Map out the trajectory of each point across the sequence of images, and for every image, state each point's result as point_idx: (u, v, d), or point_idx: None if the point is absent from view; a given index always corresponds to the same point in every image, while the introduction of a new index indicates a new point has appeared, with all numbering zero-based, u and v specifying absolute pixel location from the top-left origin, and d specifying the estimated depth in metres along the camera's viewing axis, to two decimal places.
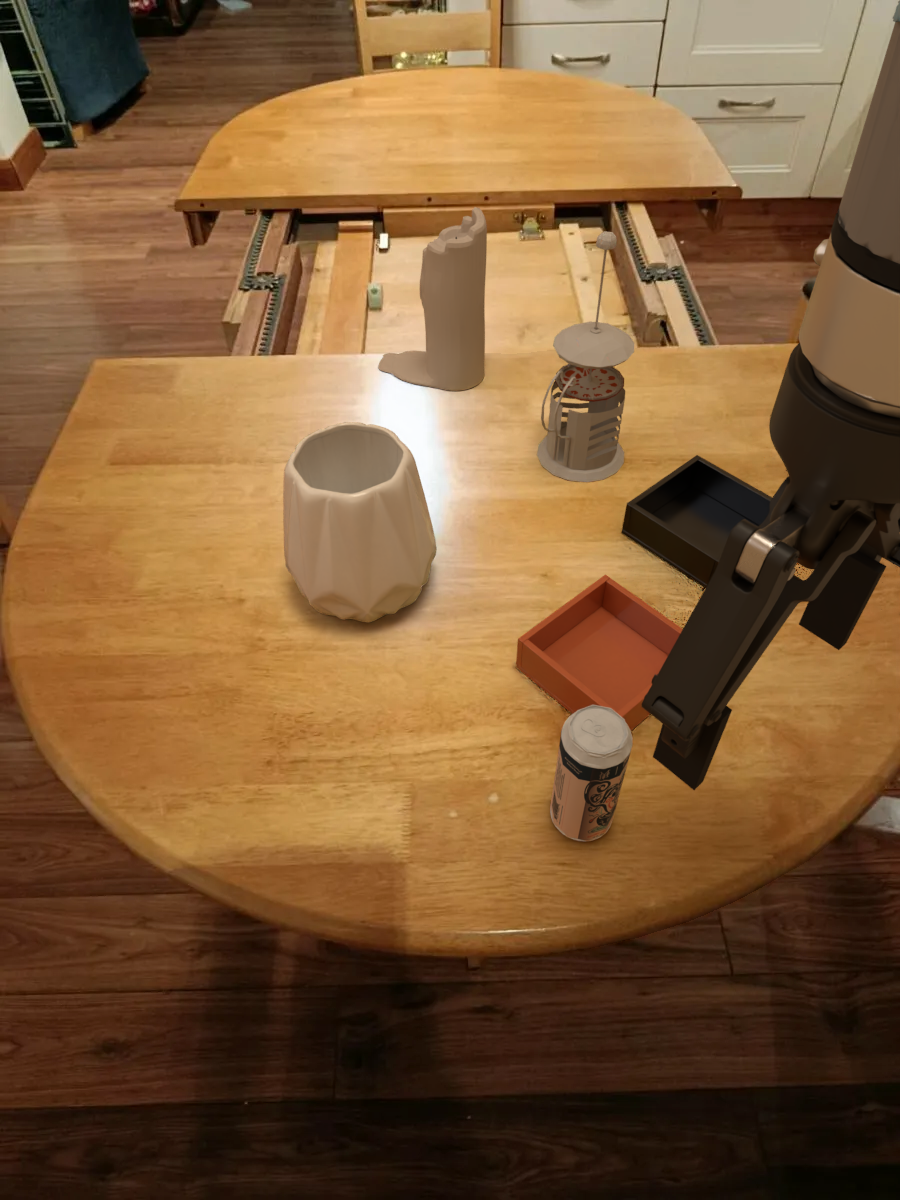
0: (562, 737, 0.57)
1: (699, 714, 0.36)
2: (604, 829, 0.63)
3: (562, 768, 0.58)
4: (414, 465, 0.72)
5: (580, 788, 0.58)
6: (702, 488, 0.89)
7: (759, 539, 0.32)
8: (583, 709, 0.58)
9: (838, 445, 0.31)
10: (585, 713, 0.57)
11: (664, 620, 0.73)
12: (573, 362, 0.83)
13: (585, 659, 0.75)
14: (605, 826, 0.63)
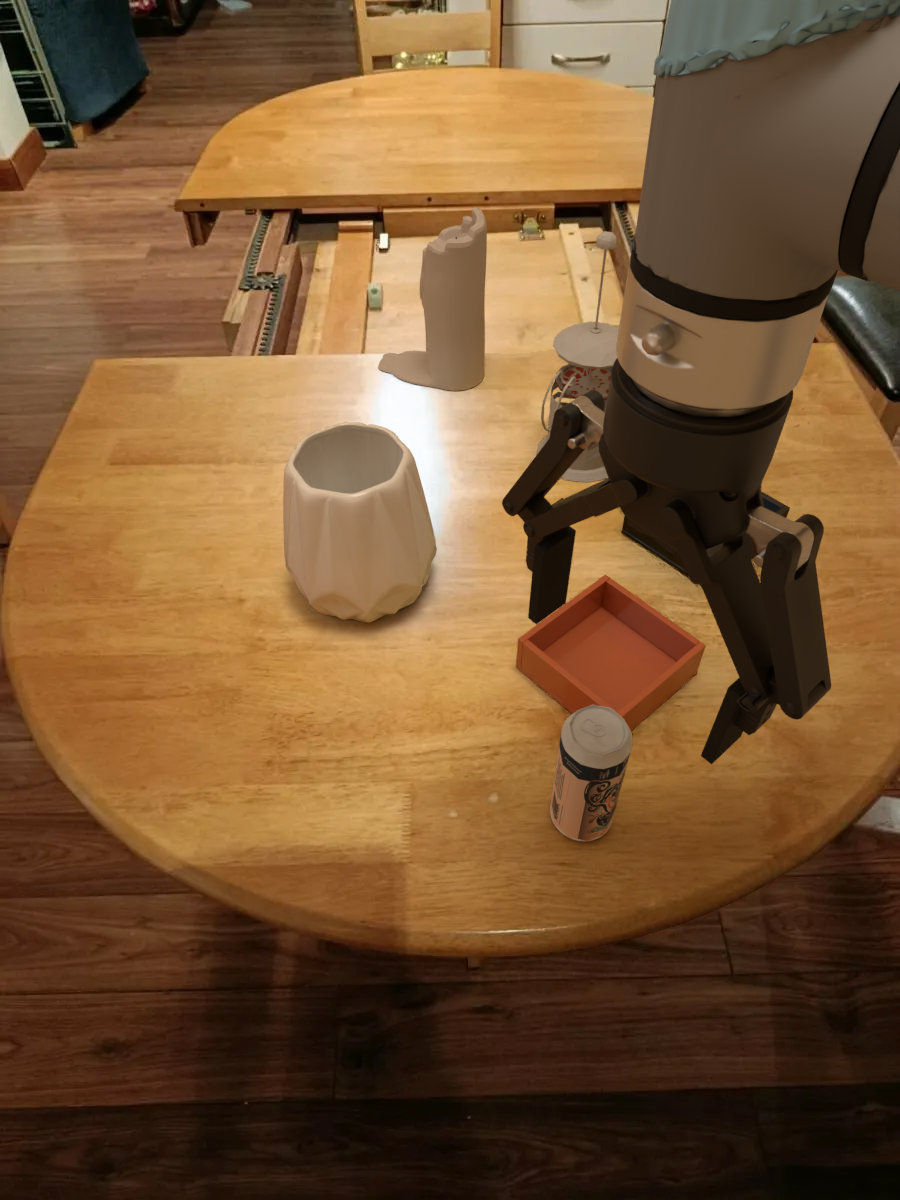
0: (562, 737, 0.57)
1: None
2: (604, 829, 0.63)
3: (562, 768, 0.58)
4: (414, 465, 0.72)
5: (580, 788, 0.58)
6: None
7: (802, 534, 0.36)
8: (583, 709, 0.58)
9: (775, 436, 0.35)
10: (585, 713, 0.57)
11: (664, 620, 0.73)
12: (573, 362, 0.83)
13: (585, 659, 0.75)
14: (605, 826, 0.63)
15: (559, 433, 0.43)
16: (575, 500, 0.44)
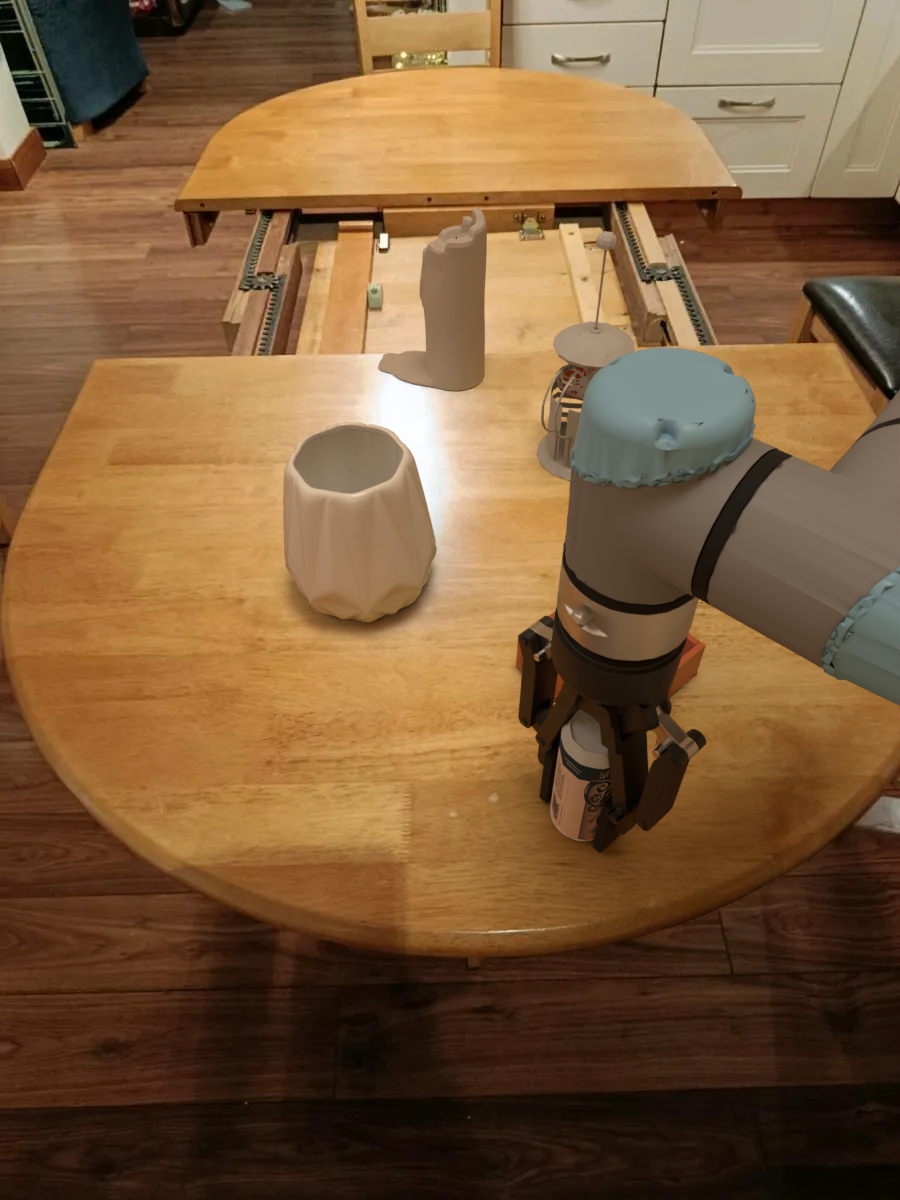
0: (562, 737, 0.57)
1: None
2: None
3: (562, 768, 0.58)
4: (414, 465, 0.72)
5: (580, 788, 0.58)
6: None
7: (691, 751, 0.49)
8: None
9: (674, 667, 0.47)
10: (585, 713, 0.57)
11: None
12: (573, 362, 0.83)
13: None
14: None
15: (526, 652, 0.56)
16: (554, 707, 0.57)
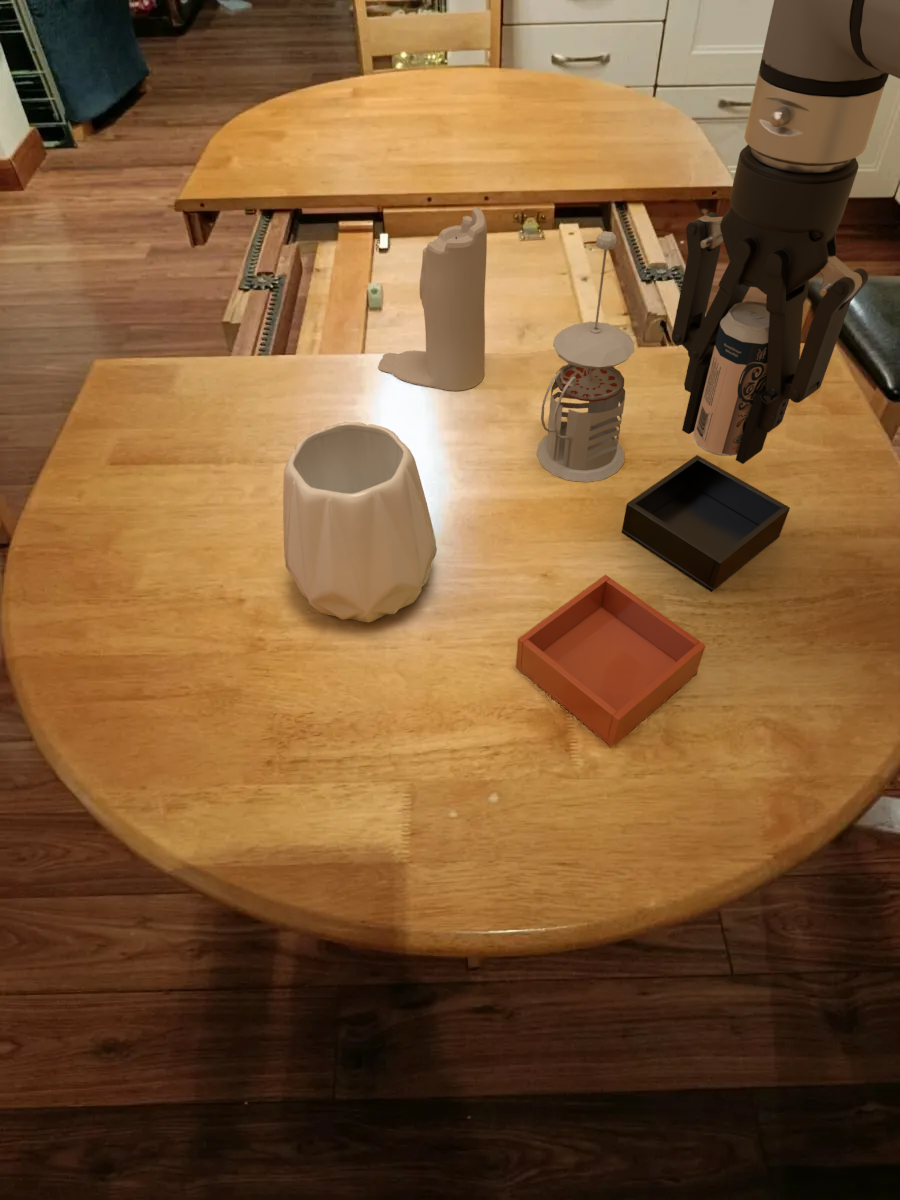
0: (722, 325, 0.64)
1: (824, 373, 0.63)
2: None
3: (719, 361, 0.66)
4: (414, 465, 0.72)
5: (735, 376, 0.65)
6: (702, 488, 0.89)
7: (856, 281, 0.57)
8: (739, 304, 0.65)
9: (847, 190, 0.55)
10: (741, 306, 0.65)
11: (664, 620, 0.73)
12: (573, 362, 0.83)
13: (585, 659, 0.75)
14: None
15: (693, 243, 0.63)
16: (715, 297, 0.64)
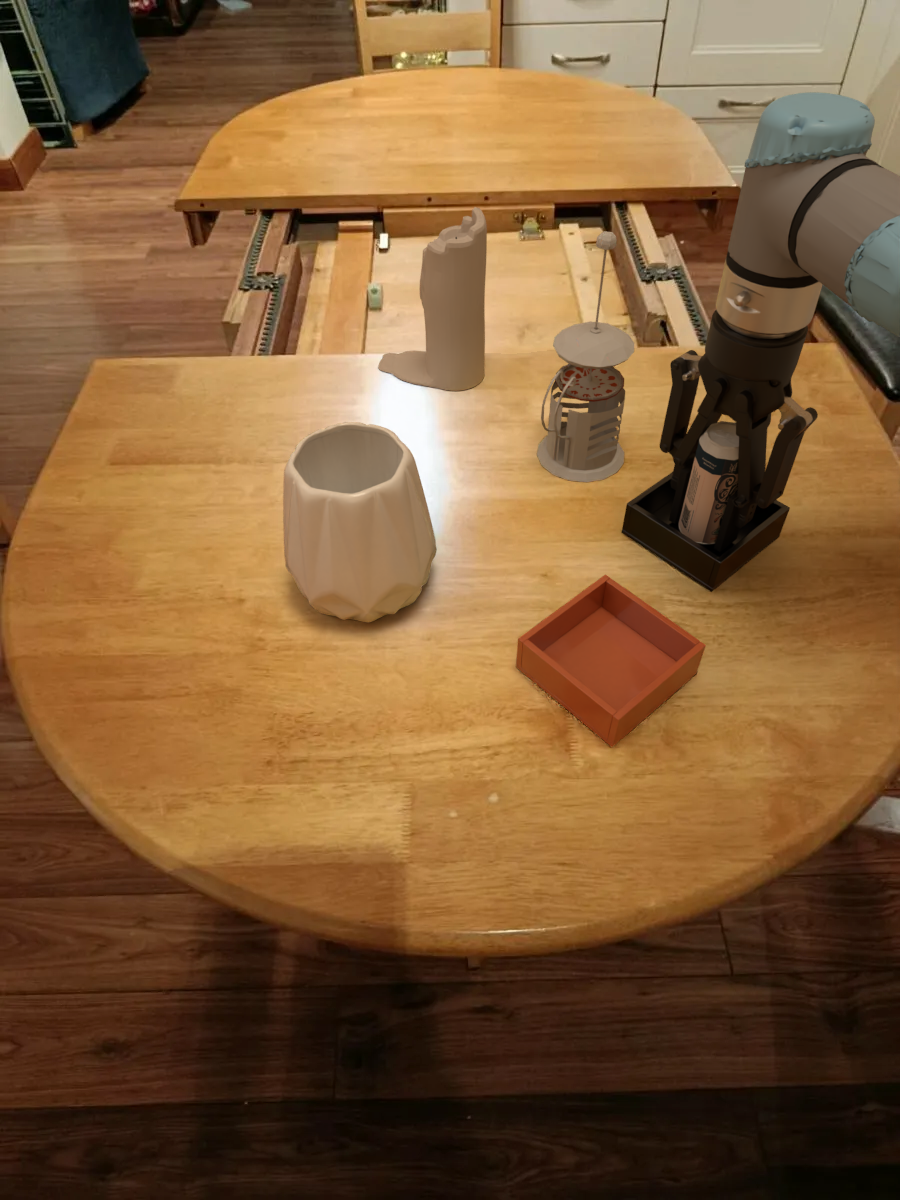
0: (700, 443, 0.77)
1: (785, 484, 0.76)
2: None
3: (698, 471, 0.78)
4: (414, 465, 0.72)
5: (712, 484, 0.78)
6: None
7: (808, 419, 0.69)
8: (715, 424, 0.78)
9: (799, 350, 0.67)
10: (717, 426, 0.77)
11: (664, 620, 0.73)
12: (573, 362, 0.83)
13: (585, 659, 0.75)
14: None
15: (676, 375, 0.76)
16: (695, 419, 0.77)
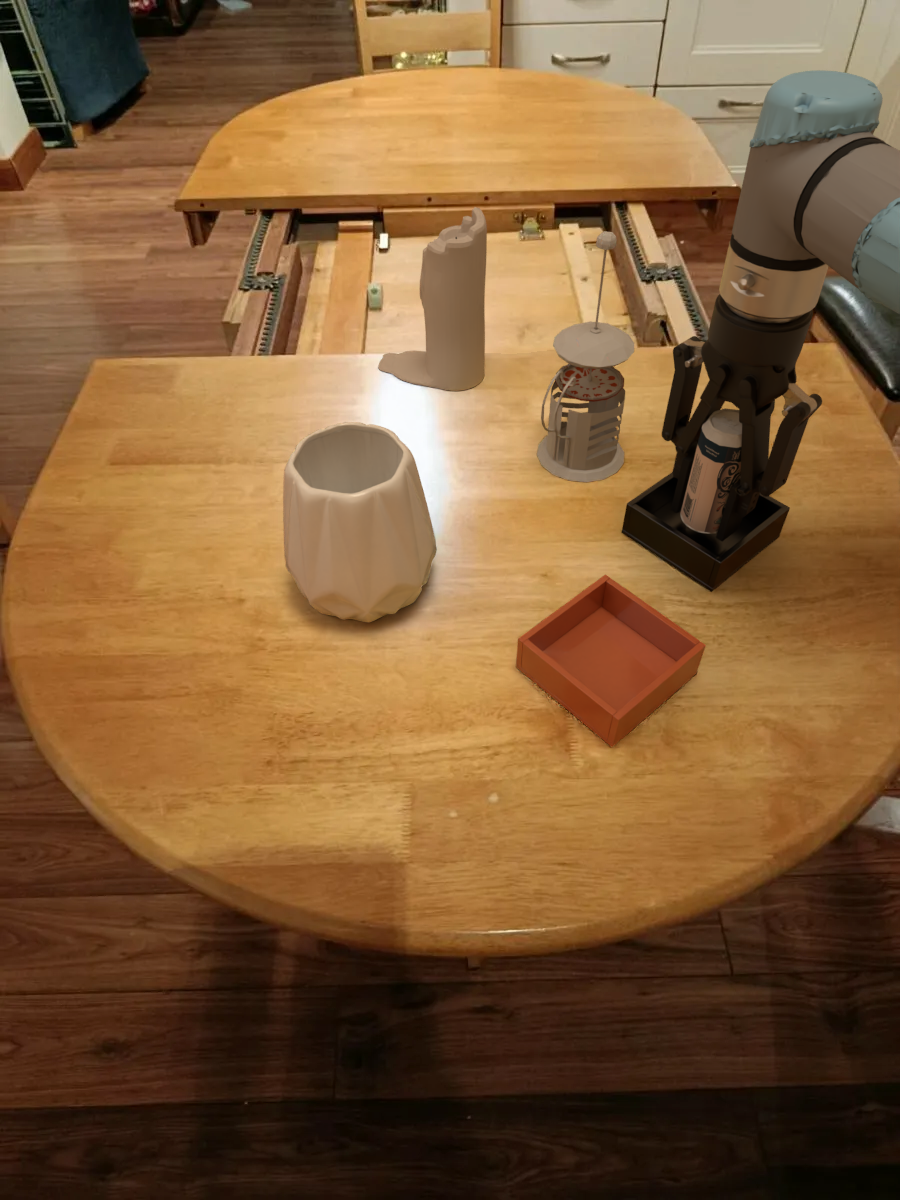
0: (703, 430, 0.76)
1: (788, 472, 0.75)
2: None
3: (701, 459, 0.77)
4: (414, 465, 0.72)
5: (715, 472, 0.77)
6: None
7: (812, 405, 0.68)
8: (718, 411, 0.77)
9: (803, 335, 0.66)
10: (720, 413, 0.76)
11: (664, 620, 0.73)
12: (573, 362, 0.83)
13: (585, 659, 0.75)
14: None
15: (679, 362, 0.75)
16: (697, 407, 0.76)
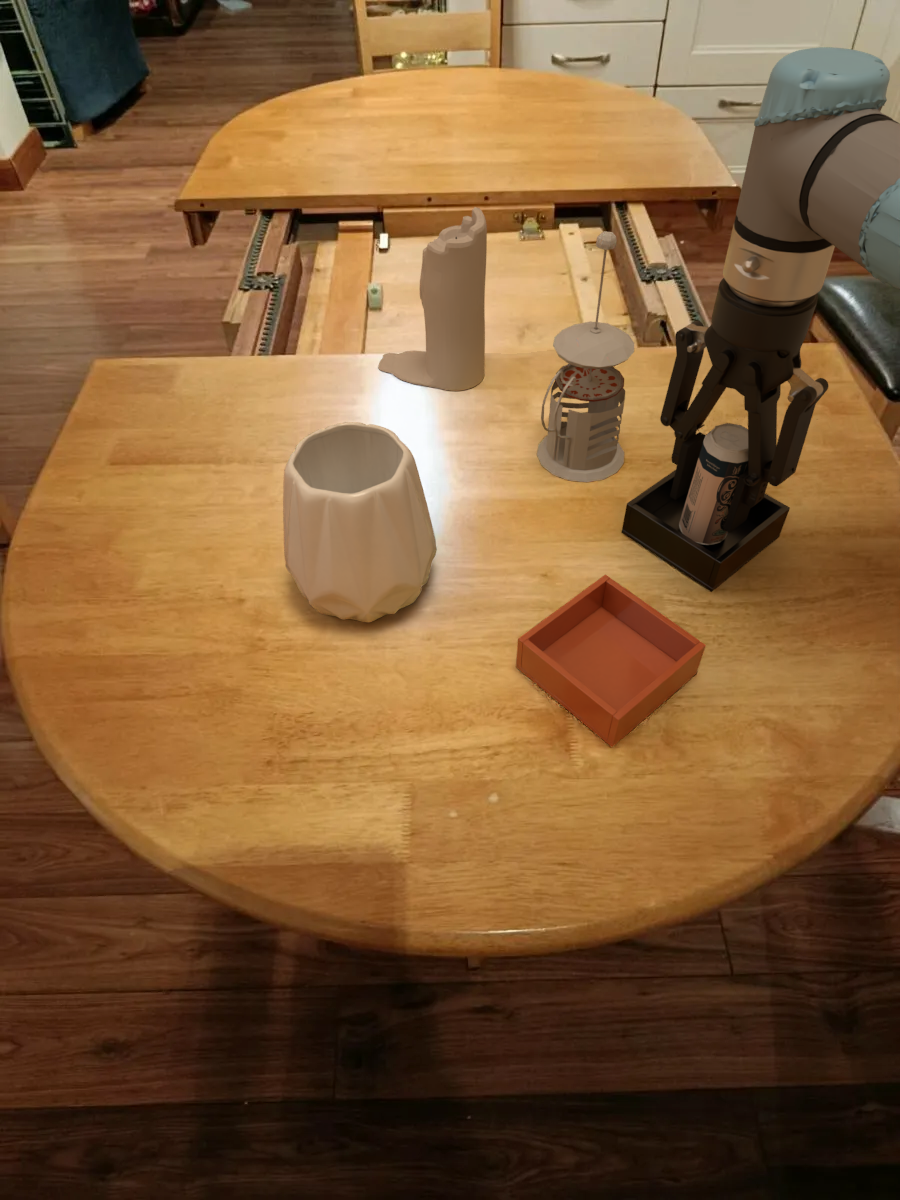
0: (705, 444, 0.77)
1: (797, 460, 0.74)
2: (723, 535, 0.83)
3: (701, 472, 0.78)
4: (414, 465, 0.72)
5: (715, 486, 0.78)
6: None
7: (818, 389, 0.67)
8: (720, 425, 0.77)
9: (808, 319, 0.65)
10: (721, 428, 0.77)
11: (664, 620, 0.73)
12: (573, 362, 0.83)
13: (585, 659, 0.75)
14: (724, 531, 0.83)
15: (681, 347, 0.74)
16: (699, 392, 0.75)
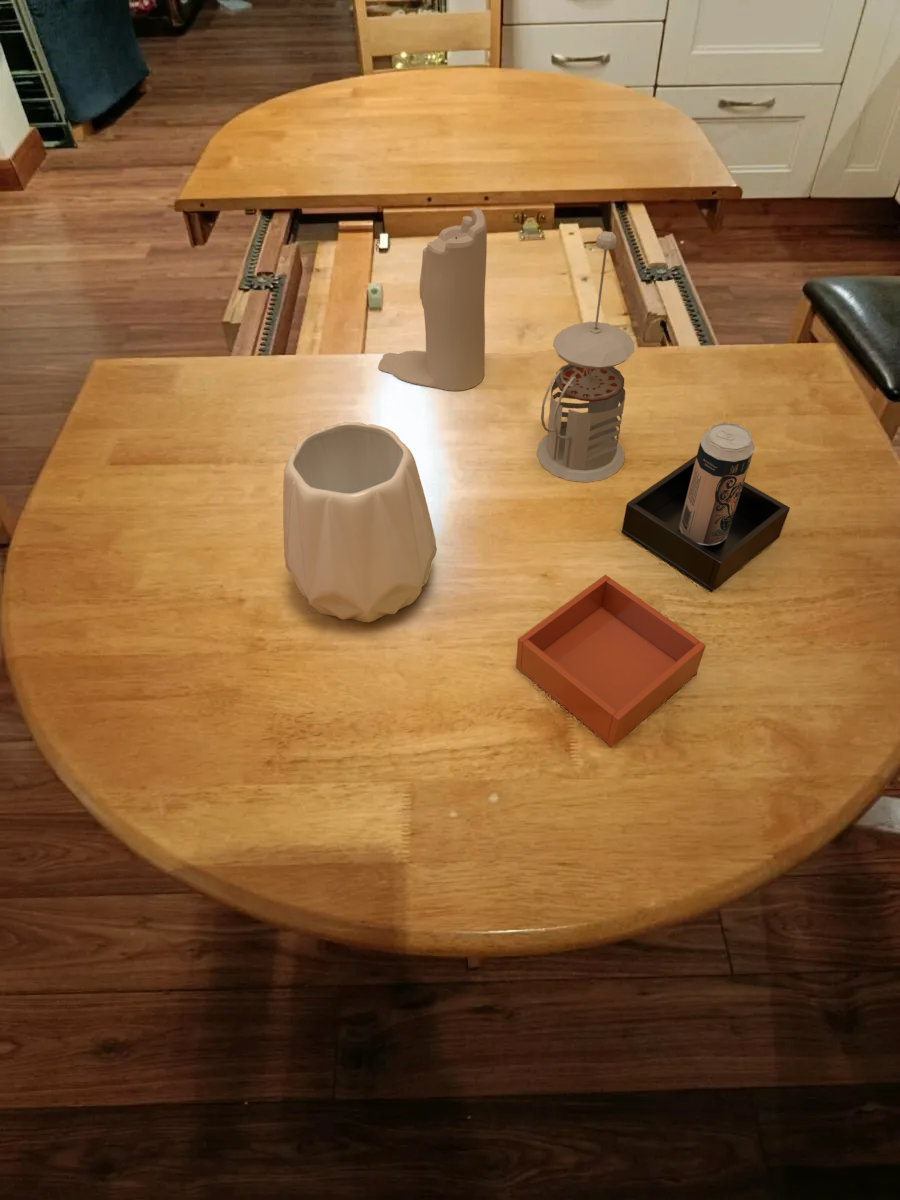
0: (702, 444, 0.77)
1: None
2: (723, 535, 0.83)
3: (699, 472, 0.78)
4: (414, 465, 0.72)
5: (713, 485, 0.78)
6: None
7: None
8: (716, 425, 0.78)
9: None
10: (718, 427, 0.77)
11: (664, 620, 0.73)
12: (573, 362, 0.83)
13: (585, 659, 0.75)
14: (725, 531, 0.83)
15: None
16: None
